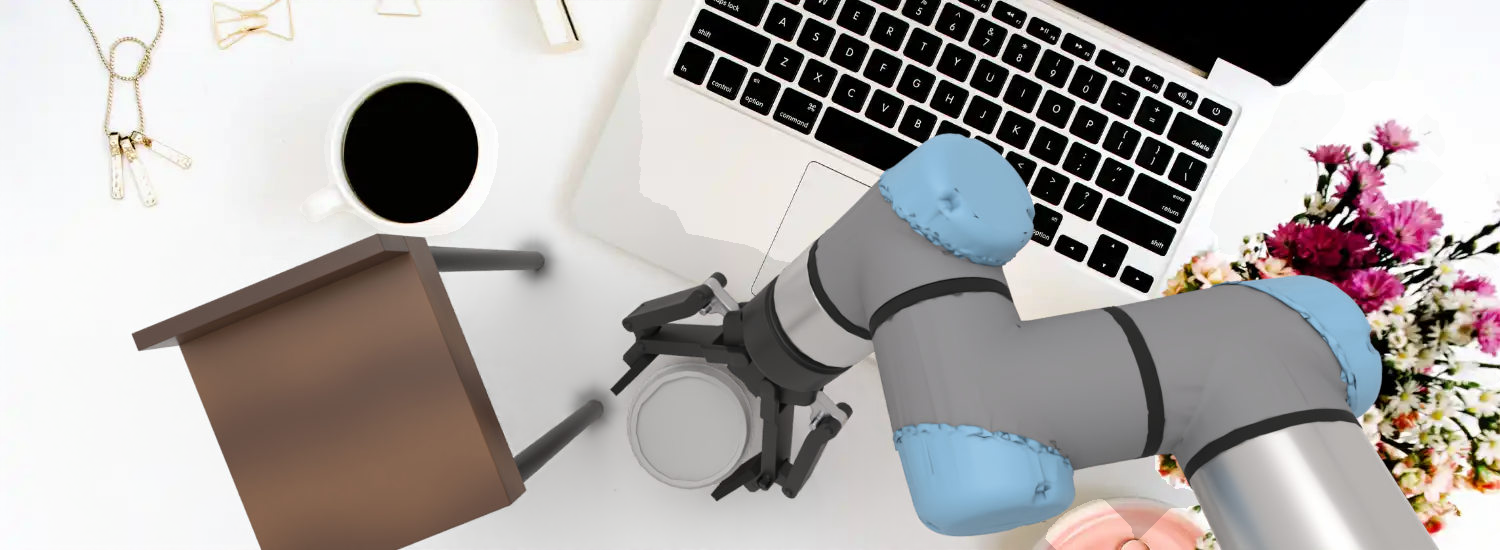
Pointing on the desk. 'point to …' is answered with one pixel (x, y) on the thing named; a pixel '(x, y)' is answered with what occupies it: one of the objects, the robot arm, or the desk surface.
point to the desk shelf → (347, 401)
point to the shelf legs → (519, 260)
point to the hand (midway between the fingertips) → (673, 435)
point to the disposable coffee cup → (690, 425)
